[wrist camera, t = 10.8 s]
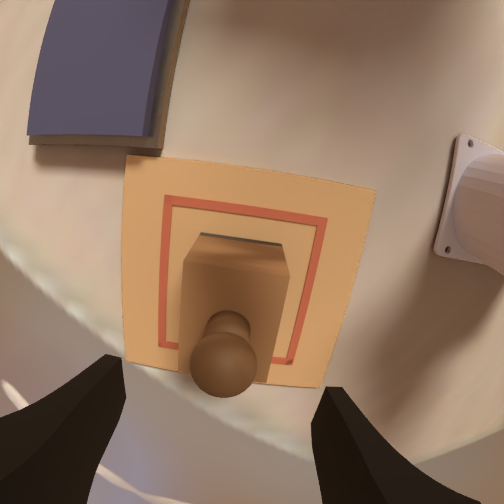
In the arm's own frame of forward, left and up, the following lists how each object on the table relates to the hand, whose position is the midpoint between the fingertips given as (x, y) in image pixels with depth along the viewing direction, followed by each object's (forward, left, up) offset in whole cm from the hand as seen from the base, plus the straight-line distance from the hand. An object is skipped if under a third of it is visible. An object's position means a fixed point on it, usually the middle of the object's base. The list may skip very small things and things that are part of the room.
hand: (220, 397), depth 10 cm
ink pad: (+10, -13, -9) cm, 19 cm away
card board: (0, 0, -9) cm, 9 cm away
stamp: (0, 0, -9) cm, 9 cm away
